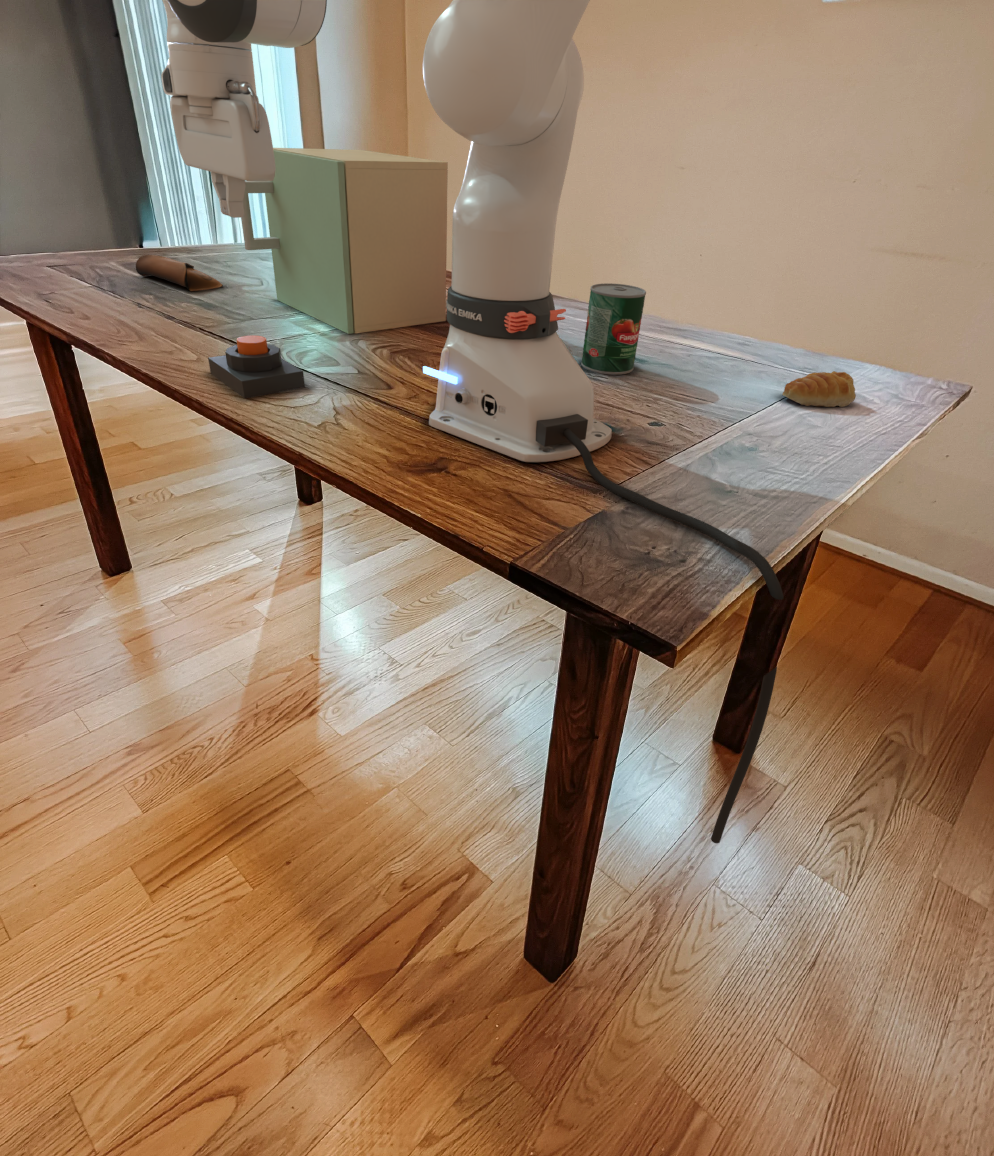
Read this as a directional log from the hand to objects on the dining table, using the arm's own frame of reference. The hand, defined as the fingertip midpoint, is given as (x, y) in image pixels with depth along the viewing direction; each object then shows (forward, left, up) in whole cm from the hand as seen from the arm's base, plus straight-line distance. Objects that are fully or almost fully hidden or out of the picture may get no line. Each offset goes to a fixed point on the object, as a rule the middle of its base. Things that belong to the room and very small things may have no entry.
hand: (232, 216), depth 86 cm
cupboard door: (+20, -16, -18) cm, 31 cm away
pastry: (-53, -59, -18) cm, 81 cm away
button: (-8, +3, -15) cm, 17 cm away
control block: (-8, +3, -18) cm, 20 cm away
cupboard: (+19, -29, -18) cm, 39 cm away
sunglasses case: (+54, -9, -18) cm, 58 cm away
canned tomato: (-27, -44, -18) cm, 54 cm away
